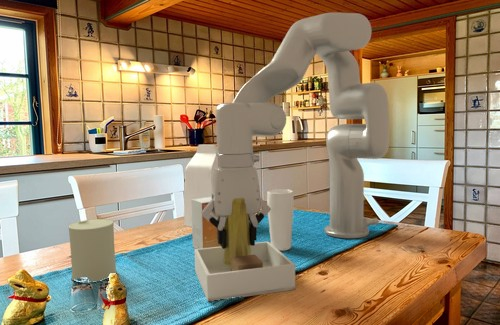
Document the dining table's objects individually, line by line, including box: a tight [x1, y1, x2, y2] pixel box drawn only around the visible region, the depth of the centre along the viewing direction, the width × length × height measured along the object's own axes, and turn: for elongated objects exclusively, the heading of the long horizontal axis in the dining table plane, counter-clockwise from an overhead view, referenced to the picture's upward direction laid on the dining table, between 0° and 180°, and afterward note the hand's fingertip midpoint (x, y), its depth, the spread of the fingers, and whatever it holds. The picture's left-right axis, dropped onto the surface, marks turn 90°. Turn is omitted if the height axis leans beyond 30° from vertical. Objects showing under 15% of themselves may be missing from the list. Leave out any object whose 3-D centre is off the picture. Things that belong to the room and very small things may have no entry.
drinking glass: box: [266, 188, 295, 252], centre depth 103 cm, size 7×7×15 cm
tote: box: [194, 241, 296, 303], centre depth 83 cm, size 17×16×5 cm
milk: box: [183, 144, 218, 228], centre depth 129 cm, size 12×12×26 cm
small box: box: [191, 197, 221, 249], centre depth 105 cm, size 8×6×13 cm
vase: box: [223, 198, 251, 266], centre depth 85 cm, size 6×6×14 cm
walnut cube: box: [231, 255, 263, 271], centre depth 79 cm, size 5×5×5 cm
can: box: [68, 218, 117, 282], centre depth 87 cm, size 9×9×12 cm
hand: (237, 244), depth 86 cm, fingers closed on vase, 5 cm apart
